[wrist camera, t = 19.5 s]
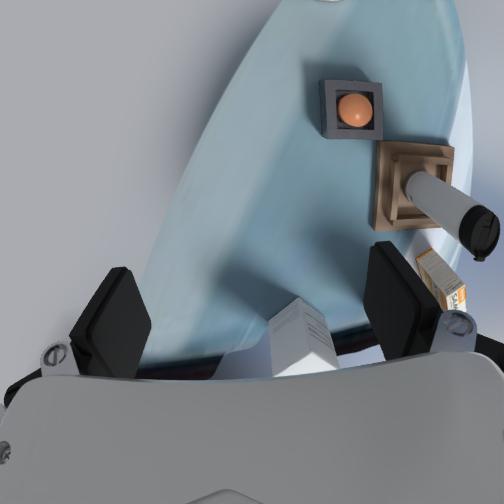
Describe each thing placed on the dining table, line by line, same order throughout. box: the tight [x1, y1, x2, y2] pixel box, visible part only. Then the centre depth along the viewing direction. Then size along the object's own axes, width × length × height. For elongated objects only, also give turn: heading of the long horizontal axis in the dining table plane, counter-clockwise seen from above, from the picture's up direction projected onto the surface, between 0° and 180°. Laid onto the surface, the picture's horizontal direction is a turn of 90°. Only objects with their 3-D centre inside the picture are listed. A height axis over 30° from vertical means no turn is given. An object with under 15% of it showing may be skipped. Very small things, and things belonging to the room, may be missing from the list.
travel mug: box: [404, 170, 500, 262], centre depth 35 cm, size 6×7×20 cm
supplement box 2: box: [416, 249, 467, 312], centre depth 48 cm, size 8×5×13 cm, turn 33°
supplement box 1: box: [268, 297, 340, 377], centre depth 53 cm, size 9×9×15 cm
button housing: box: [319, 79, 383, 140], centre depth 38 cm, size 9×9×4 cm
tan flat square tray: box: [372, 140, 454, 232], centre depth 43 cm, size 16×16×4 cm
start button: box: [336, 94, 372, 127], centre depth 37 cm, size 5×5×3 cm
